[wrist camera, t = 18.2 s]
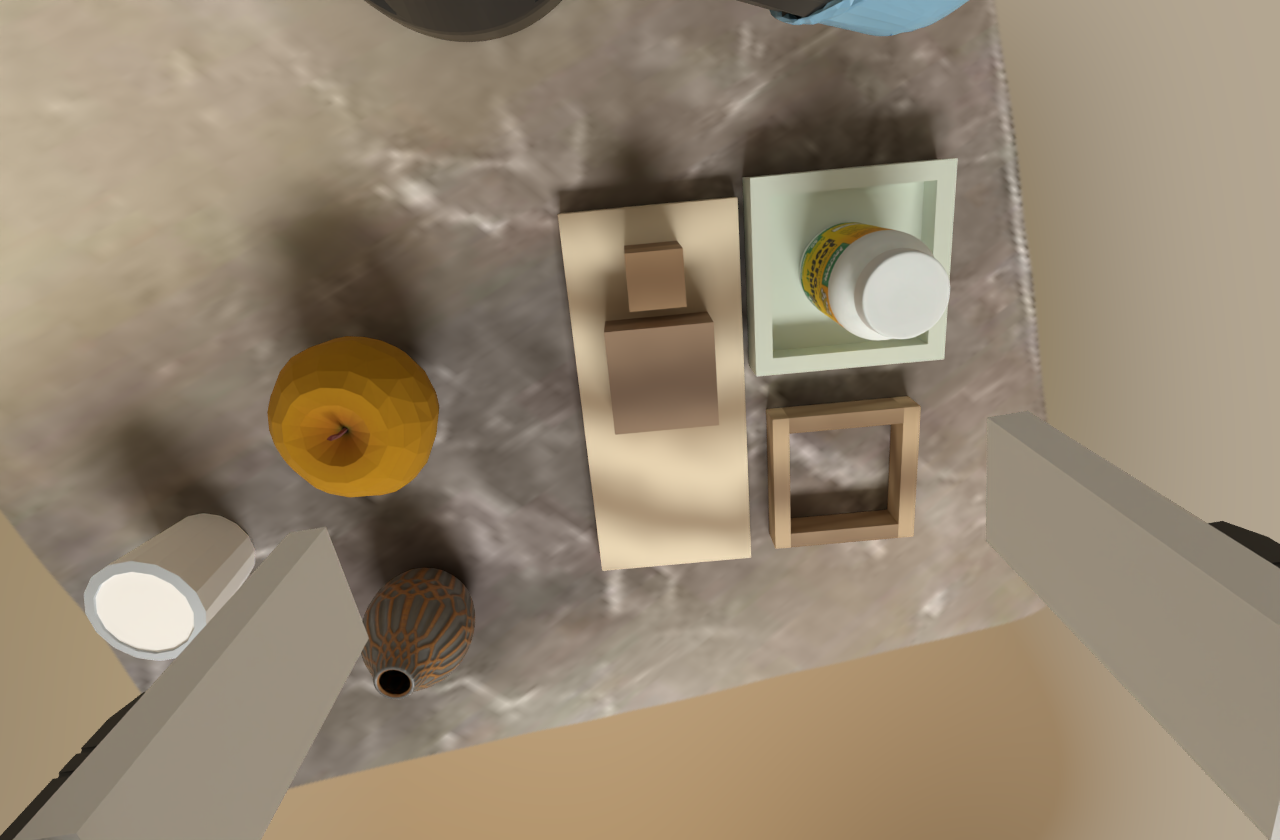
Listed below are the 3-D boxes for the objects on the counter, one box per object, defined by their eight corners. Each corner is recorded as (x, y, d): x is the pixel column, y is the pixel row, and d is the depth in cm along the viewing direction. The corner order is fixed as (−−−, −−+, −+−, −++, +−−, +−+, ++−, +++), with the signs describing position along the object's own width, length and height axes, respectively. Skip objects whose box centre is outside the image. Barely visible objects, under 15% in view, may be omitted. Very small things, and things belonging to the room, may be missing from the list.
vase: (389, 636, 49) (341, 731, 40) (377, 551, 46) (324, 634, 38) (486, 635, 49) (459, 730, 41) (480, 551, 46) (449, 633, 38)
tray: (742, 177, 39) (750, 177, 36) (937, 159, 38) (957, 158, 36) (748, 365, 42) (756, 376, 40) (926, 348, 42) (943, 359, 40)
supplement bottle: (881, 315, 41) (954, 357, 32) (792, 313, 40) (839, 355, 31) (895, 221, 39) (977, 237, 30) (801, 218, 39) (855, 234, 30)
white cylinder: (173, 594, 47) (99, 663, 40) (148, 505, 45) (66, 562, 38) (273, 593, 47) (217, 661, 41) (254, 504, 45) (191, 561, 38)
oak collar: (766, 408, 43) (772, 420, 41) (907, 396, 43) (920, 406, 41) (769, 533, 46) (775, 548, 45) (901, 521, 46) (913, 536, 44)
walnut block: (605, 321, 40) (603, 332, 37) (707, 311, 40) (713, 322, 37) (615, 417, 42) (615, 434, 39) (712, 408, 42) (719, 425, 39)
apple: (468, 454, 44) (431, 521, 36) (329, 460, 44) (259, 529, 35) (449, 315, 41) (404, 353, 32) (299, 321, 41) (215, 361, 32)
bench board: (559, 213, 39) (550, 219, 34) (734, 196, 39) (750, 200, 34) (602, 561, 47) (600, 606, 42) (747, 548, 47) (762, 592, 42)
